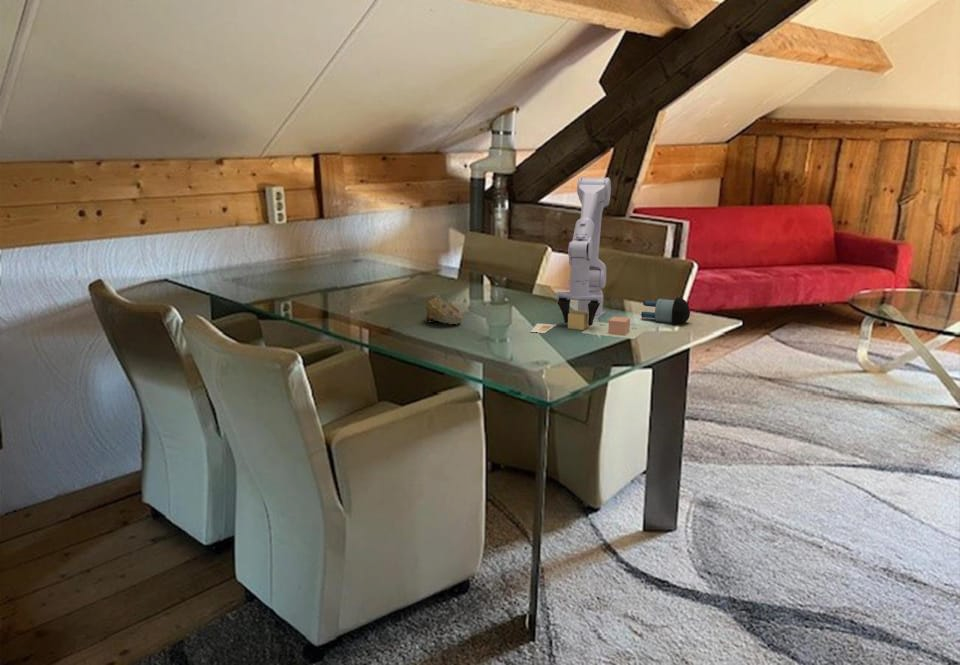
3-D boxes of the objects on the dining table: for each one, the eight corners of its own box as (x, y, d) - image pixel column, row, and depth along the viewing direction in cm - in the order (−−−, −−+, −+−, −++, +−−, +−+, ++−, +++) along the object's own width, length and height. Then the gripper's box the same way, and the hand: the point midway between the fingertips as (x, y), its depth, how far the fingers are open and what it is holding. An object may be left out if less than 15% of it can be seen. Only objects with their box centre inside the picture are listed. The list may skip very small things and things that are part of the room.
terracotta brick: (613, 329, 222) (613, 316, 221) (629, 331, 220) (630, 318, 218) (608, 333, 217) (608, 320, 216) (624, 335, 215) (625, 322, 214)
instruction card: (537, 324, 230) (537, 323, 230) (559, 325, 228) (559, 324, 228) (530, 332, 221) (530, 331, 221) (553, 334, 219) (553, 333, 219)
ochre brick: (573, 325, 228) (573, 310, 227) (588, 327, 226) (589, 311, 225) (567, 329, 224) (568, 313, 223) (583, 331, 222) (583, 315, 221)
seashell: (444, 334, 225) (446, 303, 222) (414, 321, 235) (416, 291, 232) (471, 328, 233) (473, 297, 229) (441, 315, 242) (443, 286, 239)
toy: (641, 325, 235) (689, 330, 228) (635, 315, 228) (683, 320, 221) (647, 301, 237) (694, 305, 230) (641, 290, 230) (689, 294, 223)
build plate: (595, 323, 231) (596, 321, 230) (646, 328, 224) (646, 326, 224) (581, 334, 219) (581, 332, 218) (634, 340, 212) (634, 338, 212)
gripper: (552, 280, 221) (551, 324, 224) (598, 284, 214) (597, 329, 218) (560, 276, 227) (559, 318, 230) (605, 279, 220) (604, 323, 224)
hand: (578, 323), depth 225 cm, fingers open, 7 cm apart
